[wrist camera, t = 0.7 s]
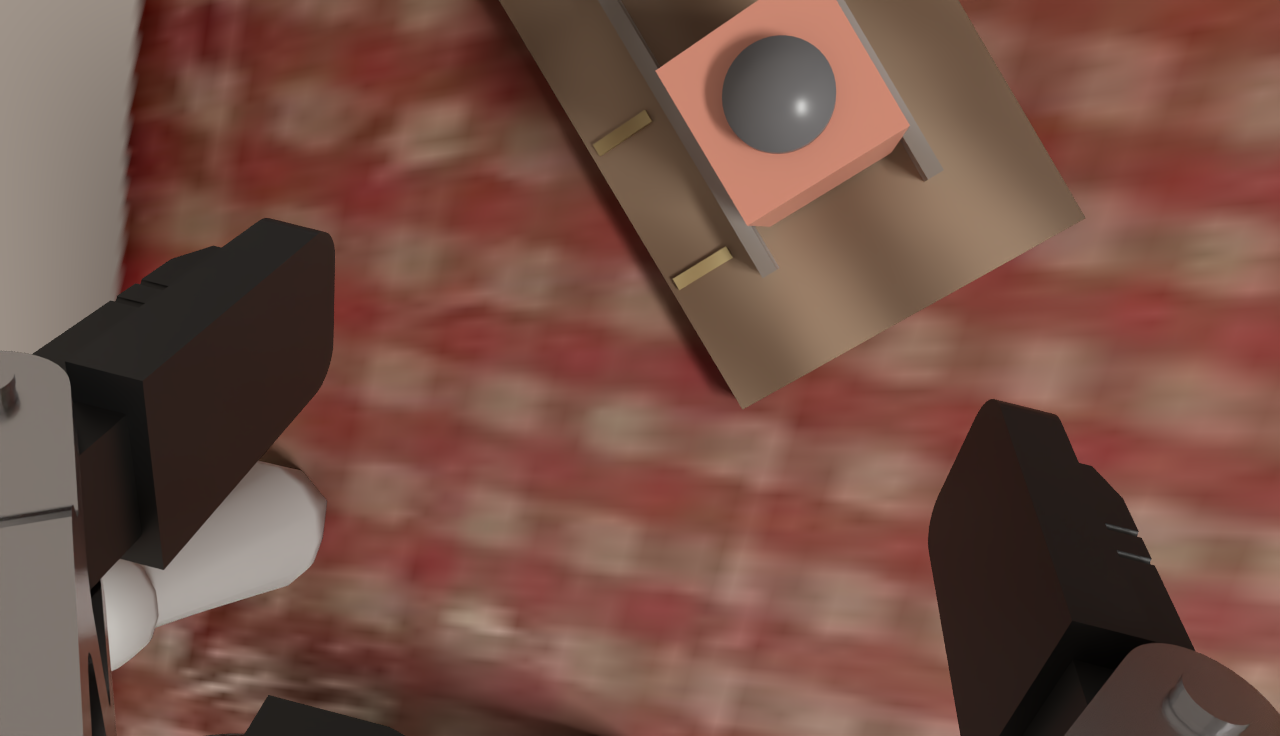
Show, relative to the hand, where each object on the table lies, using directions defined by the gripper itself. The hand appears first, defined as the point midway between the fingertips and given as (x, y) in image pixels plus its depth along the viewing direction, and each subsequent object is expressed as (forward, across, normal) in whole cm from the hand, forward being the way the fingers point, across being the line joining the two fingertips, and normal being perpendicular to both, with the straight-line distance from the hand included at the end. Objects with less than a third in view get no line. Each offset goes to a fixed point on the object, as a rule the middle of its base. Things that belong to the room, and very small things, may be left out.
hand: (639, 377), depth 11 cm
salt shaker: (+21, +15, +25) cm, 36 cm away
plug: (+24, -3, +3) cm, 25 cm away
